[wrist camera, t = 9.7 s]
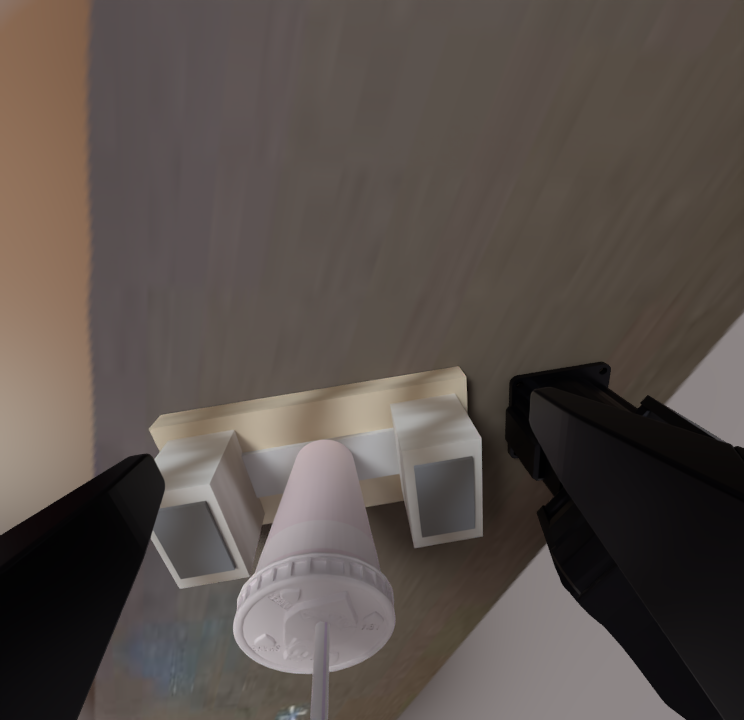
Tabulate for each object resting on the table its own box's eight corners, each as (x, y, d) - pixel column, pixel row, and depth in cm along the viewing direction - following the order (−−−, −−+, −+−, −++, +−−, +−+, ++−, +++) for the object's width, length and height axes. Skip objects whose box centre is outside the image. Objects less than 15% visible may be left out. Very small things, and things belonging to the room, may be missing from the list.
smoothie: (394, 446, 23) (465, 765, 10) (343, 513, 25) (348, 851, 12) (302, 404, 21) (244, 729, 8) (256, 480, 23) (150, 837, 10)
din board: (458, 366, 23) (498, 421, 17) (463, 474, 26) (496, 549, 21) (160, 414, 22) (99, 487, 17) (207, 517, 26) (171, 605, 20)
